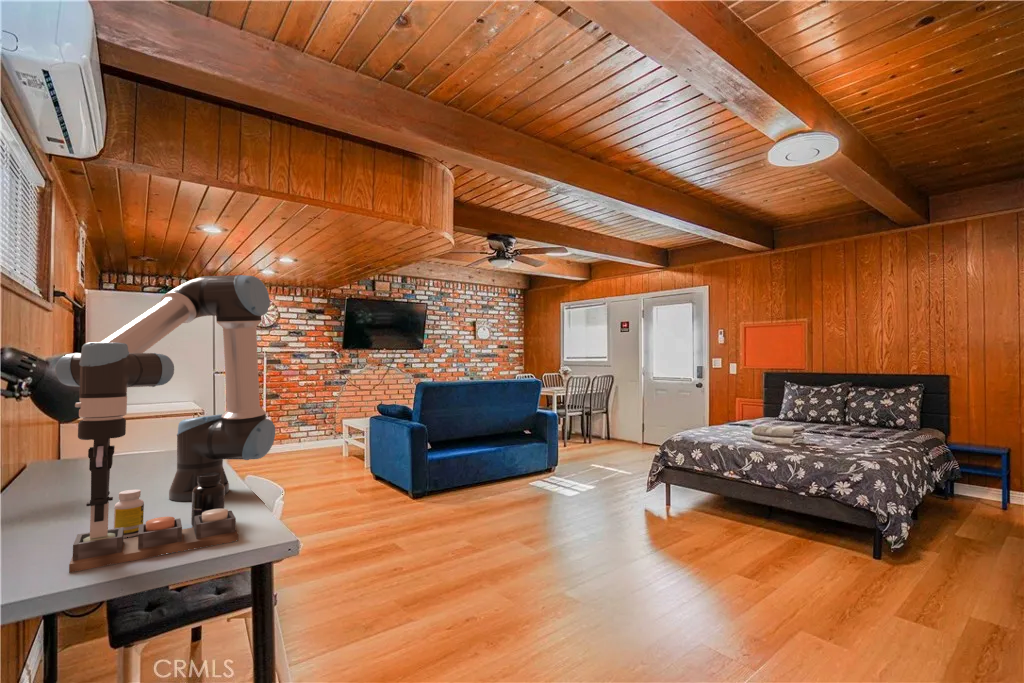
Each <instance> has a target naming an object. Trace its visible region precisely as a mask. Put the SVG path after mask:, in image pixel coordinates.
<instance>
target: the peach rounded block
mask: <svg viewBox="0 0 1024 683" xmlns="http://www.w3.org/2000/svg"><path fill="white" fill-rule="evenodd" d="M228 511H229V510H228V509H227V508H224V509H212V510H208V511H205V512H203V513H202V523H204V522H210V521H216V520H223V519H228Z"/></svg>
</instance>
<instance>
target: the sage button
mask: <svg viewBox="0 0 1024 683" xmlns="http://www.w3.org/2000/svg"><path fill="white" fill-rule="evenodd" d="M112 537H115V534H114V533H108V535H107V536H105V537H98V538H92V539H90V536H89V537H86V538H85V539H83V542H88V541H94V540H100V539H106V538H112Z"/></svg>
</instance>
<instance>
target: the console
mask: <svg viewBox="0 0 1024 683" xmlns="http://www.w3.org/2000/svg"><path fill="white" fill-rule="evenodd" d="M236 521H237V518H236V516H235V514H234V513H233V511H232V510H228V519H223V520H216V521H210V522H204V523H202V515H199V516H194V527H189V528H183V525H182V520H181V517H180V518H175V526H174V528H167V529H161V530H155V531H149V532H146V523H143V524H141V525H139V533H138V535H137V536H133V537H128V538H123V535H124V527H121V528H115V529H114V528H112V529H111V528H110V529H109V528H108V533H114V534H115V537H112V538H106V539H100V540H94V541H88V542H83V539H85V538H86V537H89V536H90V531H89V532H84V533H78V534H76V537H75V540H74V541H73V544H72V556H71V559H70V562H69V563H68V566H69V567H68V573H75V572H80V571H85V570H89V569H96V568H102V567H105V566H106V567H107V566H113V565H116V564H121V563H127V562H133V561H138V560H143V559H144V560H145V559H149V558H153V557H154V556H155V557H158V555H160V556H162V555H161V554H165V555H167V554H166V553H171V554H173V553H172V552H176V553H179V552H178V551H181V552H185V551H184V550H187V551H189V550H188V549H192V550H195V549H194V548H197V549H201V548H200V547H203V548H207V547H206V546H208V547H212V546H211V545H213V546H218V545H217V544H219V545H223V544H222V543H224V544H229V543H233V542H232V541H235V542H237V541H236V540H238V541H239V532H238V530H237V529H236V526H237V525H236V523H237V522H236Z"/></svg>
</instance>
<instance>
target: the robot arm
mask: <svg viewBox="0 0 1024 683" xmlns="http://www.w3.org/2000/svg"><path fill="white" fill-rule="evenodd" d="M270 302H271V301H270V295H269V291H268V288H267V286H266V285H265V284H264V282H263V281H262V280H261V279H260V278H258V277H256V276H254V275H245V274H235V275H234V274H232V275H231V274H230V275H204V276H199V277H196V278H193V279H190V280H187V281H186V282H184V283H182V284H179V285H178V286H176V287H174V288H173V289H171V290H169V291H168V292H166V293H165V294H163V295H162V297H161V298H160V302H158V303H157V304H156V305H154V306H153V307H151V308H149V309H148V310H146V311H145V312H144V313H142V314H140V315H139V316H137V317H136V318H134V319H133V320H131V321H130V322H129V323H127V324H125V325H124V326H122V327H121V328H120V329H118V330H116V331H114V332H113V333H112V334H110V335H108V336H107V337H106V338H104V339H102V340H101V341H98V342H97V341H93V342H90V341H89V342H86V343H84V344H83V345H82V346H81V352H74V353H67V354H65V356H64V355H63V356H61V357H60V358H59V359H58V360H57V362H56V364H55V366H54V368H55V369H54V374H55V376H56V378H57V380H58V381H59V382H60V383H61V384H62V385H65V386H68V387H79V399H78V400H79V402H75V404H74V407H75V408H80V409H79V410H78V417H79V418H81V419H82V420H79V422H78V423H77V438H78V439H79V440H82V441H91V440H92V441H93V445H92V446H91V447H89V449H88V451H87V452H88V454H87V458H88V459H89V467H88V468H89V469H88V470H89V472H90V500H89V502H86V504H85V505H86V507H90V517H89V518H90V519H89V523H90V524H89V532H90V539H92V538H98V537H105V536H107V535H108V530H109V508H110V506H109V505H110V504H109V502H110V501H113V500H114V497H113V496H110V493H111V492H110V479H111V478H110V476H111V474H110V473H111V468H112V466H113V461H114V460H113V457H114V453H115V448H116V447H115V445H111V439H116V438H118V439H119V438H122V437H124V436H125V435H126V429H127V420H126V419H125V417H124V416H126V415H127V411H128V410H127V409H128V407H127V406H128V396H127V395H128V388H143V387H144V388H145V387H150V388H151V387H152V388H154V387H158V386H163V385H166V384H168V383H169V382H170V381H171V380H172V379H173V377H174V373H175V366H174V362H173V360H172V359H171V357H169V356H167V355H166V354H163V353H156V352H146V351H148V350H149V349H150V348H152V347H153V346H154V345H156V344H157V343H158V342H160V341H161V340H162V339H164V338H165V337H166V336H167V335H169V334H170V333H171V332H174V330H176V329H177V328H178V327H179V326H181V325H182V324H189V323H190V322H192V321H194V320H196V319H197V318H198V319H199V318H200V317H202V318H203V317H208V316H213V317H216V318H215V319H216V323H217V324H218V325H219V326H220V327H222V334H223V335H222V336H223V354H224V374H225V376H224V378H225V396H226V397H225V398H226V411H225V412H223V414H214V415H207V416H206V415H205V416H198V417H192V418H187V419H185V418H184V419H183V420H180V421H179V423H178V426H177V434H176V438H177V440H176V441H177V442H176V445H177V446H176V471H175V474H174V477H173V479H172V482H171V485H170V488H169V490H168V499H169V500H171V501H175V502H190V501H191V502H192V492H193V489H194V488H195V487H196V486H198V483H197V481H198V475H200V474H203V473H211V472H217V473H220V474H221V481H220V482H219V483H221V484H222V485H224V487H225V495H226V494H228V492H229V491H230V483H229V481H228V477H227V475H226V472H225V469H224V465H223V464H224V463H223V461H224V460H243V461H250V460H259V459H262V458H263V457H265V456H266V455H268V454H269V452H270V450H271V448H272V447H273V445H274V442H275V437H276V425H275V424H274V422H273V421H272V420H271V419H268V418H267V416H266V415H267V414H266V413H267V412H266V410H264V409H263V408H262V407H261V404H260V403H261V402H260V381H259V379H260V378H259V360H258V358H259V357H258V339H257V337H258V336H257V327H258V326H259V325H260V324H261V323H262V320H263V319H262V316H264V315H266V314H267V313H268V311H269V308H270V305H271V304H270Z"/></svg>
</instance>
